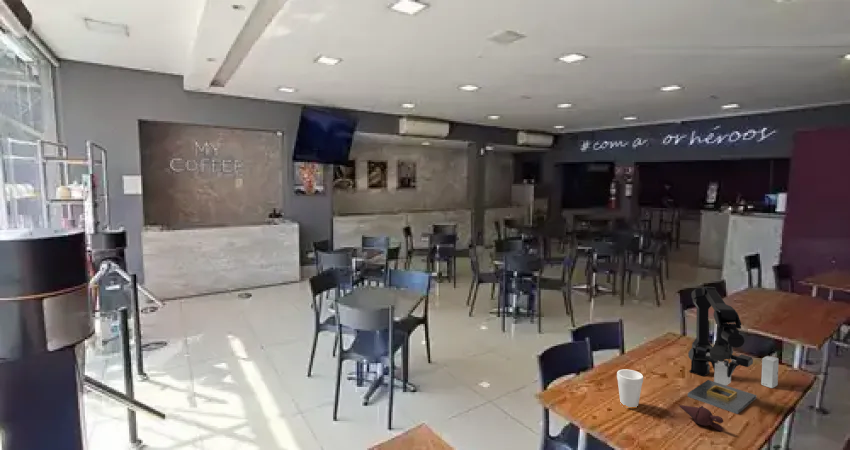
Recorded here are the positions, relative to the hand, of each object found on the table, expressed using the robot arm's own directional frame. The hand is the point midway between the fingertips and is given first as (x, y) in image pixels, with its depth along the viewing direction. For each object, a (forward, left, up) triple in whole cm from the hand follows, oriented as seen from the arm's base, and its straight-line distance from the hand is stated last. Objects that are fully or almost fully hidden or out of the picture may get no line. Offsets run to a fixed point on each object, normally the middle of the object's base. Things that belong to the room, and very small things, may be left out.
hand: (722, 375), depth 181 cm
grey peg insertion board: (0, 0, -10) cm, 10 cm away
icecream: (+3, -29, -10) cm, 30 cm away
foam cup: (-20, -36, -10) cm, 42 cm away
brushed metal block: (0, 0, -3) cm, 3 cm away
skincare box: (+8, +29, -10) cm, 32 cm away
